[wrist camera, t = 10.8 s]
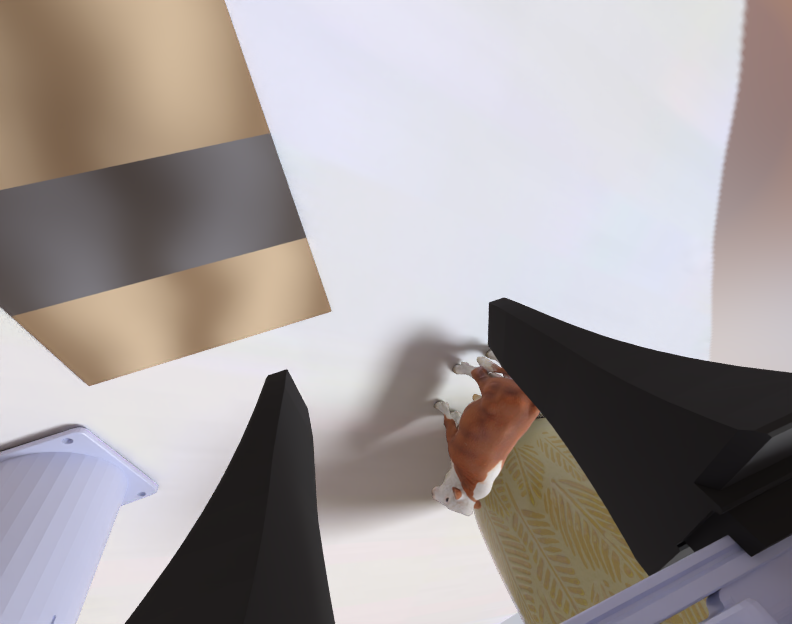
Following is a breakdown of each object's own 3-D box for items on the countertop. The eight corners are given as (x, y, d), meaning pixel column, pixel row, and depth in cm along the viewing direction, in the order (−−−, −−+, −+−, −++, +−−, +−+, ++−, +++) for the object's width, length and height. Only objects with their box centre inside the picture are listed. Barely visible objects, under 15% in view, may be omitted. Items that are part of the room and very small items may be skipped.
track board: (90, 383, 18) (89, 386, 18) (-656, -295, 6) (-681, -306, 6) (331, 309, 20) (331, 311, 20) (122, -295, 8) (119, -303, 8)
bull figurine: (402, 440, 31) (436, 532, 24) (474, 328, 25) (543, 408, 19) (438, 441, 33) (478, 526, 26) (512, 338, 27) (585, 412, 21)
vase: (556, 470, 47) (793, 784, 25) (449, 508, 42) (626, 924, 21) (597, 389, 37) (1037, 786, 16) (464, 428, 33) (820, 1046, 11)
